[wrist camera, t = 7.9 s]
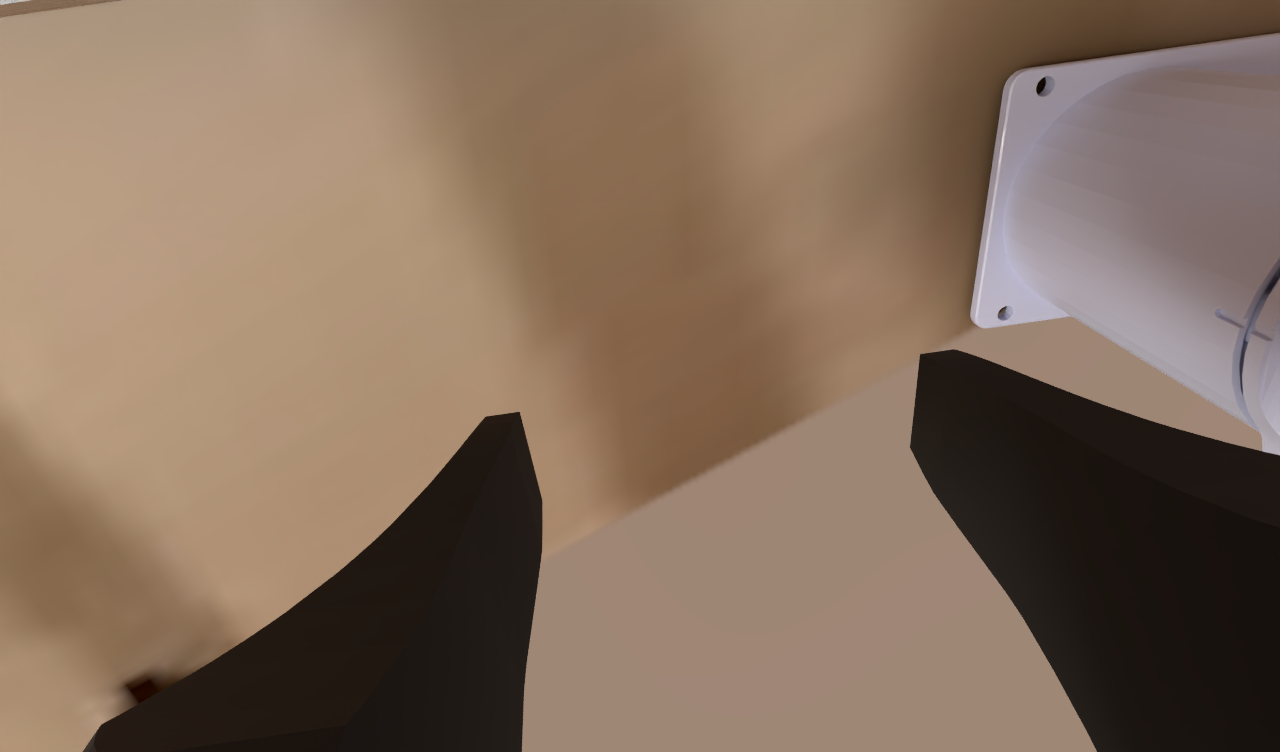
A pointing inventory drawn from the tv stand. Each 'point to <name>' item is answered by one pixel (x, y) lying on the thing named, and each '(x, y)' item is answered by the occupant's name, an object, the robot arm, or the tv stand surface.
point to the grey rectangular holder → (40, 5)
